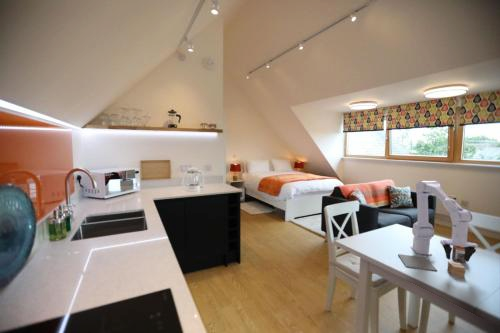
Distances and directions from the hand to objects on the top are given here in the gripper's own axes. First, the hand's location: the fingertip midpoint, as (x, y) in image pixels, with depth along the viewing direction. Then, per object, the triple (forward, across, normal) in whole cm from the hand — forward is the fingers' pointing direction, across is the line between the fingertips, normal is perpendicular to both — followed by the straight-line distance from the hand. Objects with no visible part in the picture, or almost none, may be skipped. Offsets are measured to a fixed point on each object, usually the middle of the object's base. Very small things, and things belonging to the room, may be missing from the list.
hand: (457, 259), depth 118 cm
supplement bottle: (+8, +9, +17) cm, 21 cm away
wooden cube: (+8, 0, 0) cm, 8 cm away
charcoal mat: (+8, -15, +7) cm, 18 cm away
